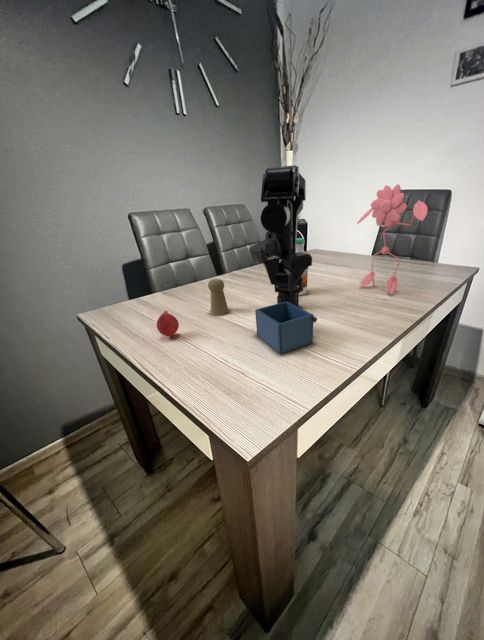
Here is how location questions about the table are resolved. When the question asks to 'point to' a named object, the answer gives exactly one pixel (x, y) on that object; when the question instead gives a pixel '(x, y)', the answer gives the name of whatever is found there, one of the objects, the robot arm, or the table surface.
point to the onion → (167, 324)
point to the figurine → (390, 223)
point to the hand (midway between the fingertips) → (281, 288)
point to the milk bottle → (300, 249)
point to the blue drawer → (284, 326)
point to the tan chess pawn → (217, 297)
